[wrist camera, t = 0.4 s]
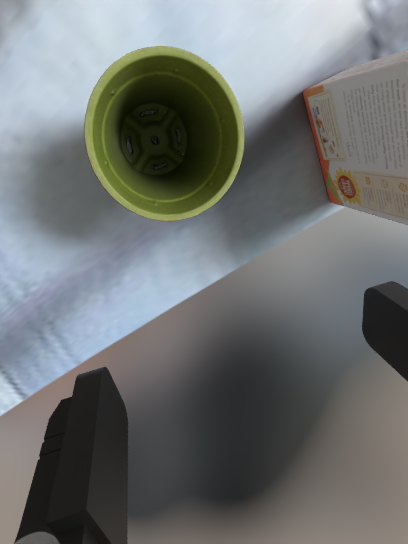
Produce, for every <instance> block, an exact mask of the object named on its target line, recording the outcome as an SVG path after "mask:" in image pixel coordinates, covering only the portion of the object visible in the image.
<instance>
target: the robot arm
mask: <svg viewBox="0 0 408 544" xmlns="http://www.w3.org/2000/svg"><path fill="white" fill-rule="evenodd" d="M363 306H364V307H363V322H362V331H363V335H364V337H365V339H366V341H367V343H368V344H369V345H370V347H371V348H372V349H373V350H375V351H376V352H377V353H378V354H379V355H380V356H381V357H382V358H383V359H384V360H385V361H386V362H387V363H388V364H390V365H391V366H392V367H393V368H394V369H395V370H396V371H397V372H398V373H399V374H400V375H401V376H402V377H404V378H405V379H406V380H407V381H408V289H407V288H405V287H403V286H402V285H400V284H398V283H396V282H392V281H391V282H387V283H384V284H381V285H378V286H374V287H371V288H368V289H367V290H366V291H365V293H364V305H363ZM39 456H40V460H38V462H37V466H36V469H35V473H34V477H33V480H32V484H31V488H30V491H29V495H28V499H27V502H26V506H25V509H24V513H23V517H22V521H21V524H20V528H19V531H18V534H17V537H16V540H15V542H14V544H127V511H128V509H127V508H128V507H127V506H128V500H127V499H128V418H127V412H126V408H125V404H124V402H123V400H122V398H121V395H120V393H119V391H118V389H117V387H116V385H115V383H114V381H113V379H112V376H111V374H110V372H109V370H108V369H107V368H106V367H103V368H99V369H96V370H92V371H89V372H86V373H83V374H79V375H78V376H77V378H76V381H75V386H74V390H73V395H72V397H69V398H67V399H63V400H61V402H60V403H59V405H58V407H57V408H56V409H55V411H54V412H53V414H52V416H51V417H50V418H49V422H48V426H47V429H46V433H45V436H44V443H43V444H42V447H41V451H40V455H39Z"/></svg>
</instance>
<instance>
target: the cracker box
mask: <svg viewBox="0 0 408 544" xmlns="http://www.w3.org/2000/svg"><path fill="white" fill-rule="evenodd" d="M303 95H304V99H305V103H306V107H307V111H308V116H309V120H310V124H311V127H312V132H313V136H314V139H315V143H316V147H317V151H318V155H319V159H320V164H321V168H322V172H323V175H324V180H325V183H326V188H327V191H328V196H329V200H330V202H332V203H335V204H338V205H342V206H345V207H349V208H352V209H355V210H358V211H362V212H365V213H368V214H372V215H375V216H378V217H382V218H385V219H389V220H392V221H395V222H399V223H402V224H405V225H408V49H407V50H404V51H402V52H399V53H396V54H393V55H389V56H386V57H383V58H380V59H377V60H374V61H370V62H367V63H363V64H360V65H358V66H355V67H352V68H349V69H346V70H344V71H342V72H340V73H338V74H336V75H334V76H332V77H330V78H328V79H326V80H324V81H322V82H320V83H318V84H316V85H314V86H312V87H310V88H308V89H306V90H304V91H303Z"/></svg>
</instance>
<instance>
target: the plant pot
mask: <svg viewBox="0 0 408 544" xmlns="http://www.w3.org/2000/svg"><path fill="white" fill-rule="evenodd" d="M148 110H155V114H154V115H146V116H144V117H141V114H140V113H141V112H143V111H148ZM165 111H166V112H165ZM176 129H179V130H180V132H181V136H182V142H181V143H178V141H177V134H176ZM84 136H85V144H86V149H87V154H88V157H89V161H90V163H91V166H92V168H93V170H94V172H95V174H96V176H97V178H98V180H99V181H100V183H101V184H102V186H103V187H104V188H105V190H106V191H107V192H108V193H109V194H110V195H111V196H112V197H113V198H114V199H115V200H116V201H117V202H118V203H120V204H121V205H122V206H124V207H125V208H127V209H128V210H130V211H132V212H134V213H136V214H138V215H140V216H143V217H146V218H149V219H154V220H159V221H177V220H183V219H187V218H190V217H193V216H196V215H198V214H200V213H202V212H204V211H205V210H207V209H209V208H210V207H211V206H213V205H214V204H215V203H216V202H217V201H219V200H220V199H221V198H222V196H223V195H224V194H225V193H226V192H227V190H228V189H229V188H230V186H231V184H232V183H233V181H234V179H235V177H236V175H237V172H238V170H239V167H240V164H241V160H242V156H243V150H244V125H243V120H242V114H241V111H240V108H239V105H238V102H237V100H236V97H235V95H234V93H233V92H232V90H231V88H230V86H229V85H228V83H227V82H226V80H225V79H224V78H223V77H222V75H221V74H220V73H219V72H218V71H217V70H216V69H215V68H214V67H213V66H211V65H210V64H209V63H208V62H206V61H205V60H203V59H202V58H200V57H199V56H197V55H195V54H193V53H191V52H188V51H185V50H182V49H179V48H174V47H167V46H155V47H147V48H142V49H138V50H135V51H133V52H131V53H129V54H127V55H125V56H123V57H122V58H120V59H119V60H117V61H116V62H114V63H113V64H112V65H111V66H110V67H109V68H108V69H107V70H106V71H105V72H104V73H103V75H102V76H101V77H100V79H99V81H98V82H97V84H96V86H95V87H94V90H93V92H92V94H91V96H90V99H89V102H88V106H87V111H86V115H85V125H84ZM153 137H157V138H158V140H159V141H158V143H157V144H153V143H152V138H153ZM126 138H130V139H131V145H132V150H133V151H134V152H133V153H132V154H131V153H130V152H129V149H128V147H127V143H126ZM177 150H179V151H181V152H182V153H183V154H184V155H182V154H181V153H179V152H178V151H177ZM164 163H166V164H167V165H168V166H164V167H162V168H159V169H158V168H157V169H155V168H154V166H155V165H160V164H164Z"/></svg>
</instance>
